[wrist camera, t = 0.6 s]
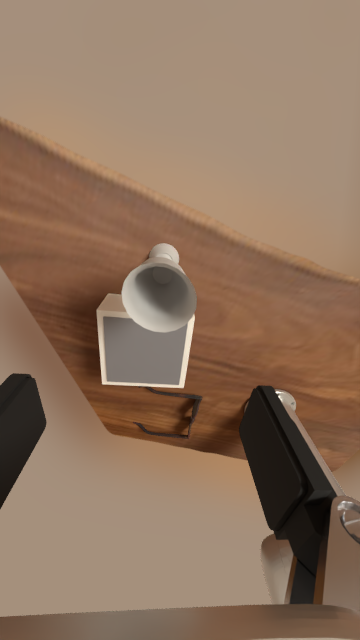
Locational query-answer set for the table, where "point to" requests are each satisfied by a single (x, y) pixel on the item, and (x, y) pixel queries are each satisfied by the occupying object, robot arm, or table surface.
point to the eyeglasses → (194, 413)
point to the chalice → (159, 292)
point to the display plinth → (140, 349)
